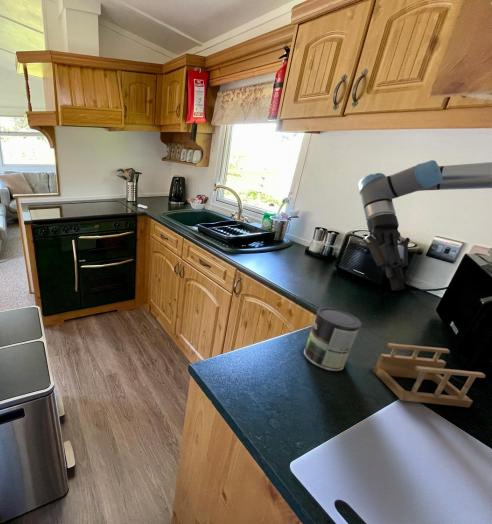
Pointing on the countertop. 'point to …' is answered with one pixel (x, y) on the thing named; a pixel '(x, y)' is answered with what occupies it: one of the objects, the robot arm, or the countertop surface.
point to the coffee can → (331, 338)
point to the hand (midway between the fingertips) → (398, 289)
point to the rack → (423, 376)
